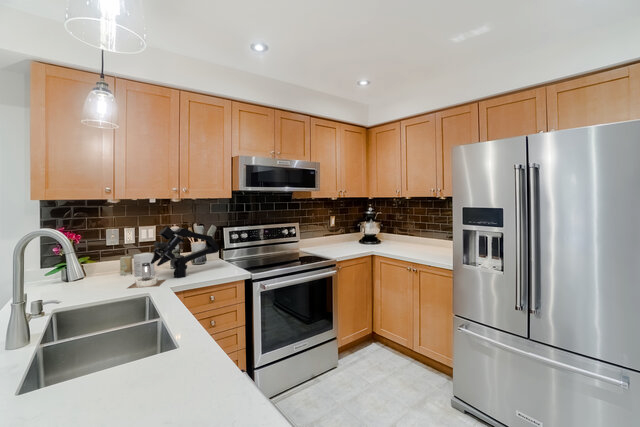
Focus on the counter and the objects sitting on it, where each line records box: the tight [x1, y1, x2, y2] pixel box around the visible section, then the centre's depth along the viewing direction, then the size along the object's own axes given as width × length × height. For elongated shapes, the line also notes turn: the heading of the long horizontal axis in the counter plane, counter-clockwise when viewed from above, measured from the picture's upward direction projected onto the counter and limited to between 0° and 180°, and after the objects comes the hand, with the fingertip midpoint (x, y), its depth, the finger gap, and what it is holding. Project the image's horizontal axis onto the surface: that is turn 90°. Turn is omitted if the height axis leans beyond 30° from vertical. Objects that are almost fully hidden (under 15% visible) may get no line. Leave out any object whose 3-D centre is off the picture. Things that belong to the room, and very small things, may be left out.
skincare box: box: [119, 256, 133, 276], centre depth 202 cm, size 6×4×12 cm
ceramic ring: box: [134, 276, 159, 288], centre depth 174 cm, size 11×11×3 cm
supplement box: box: [132, 252, 155, 278], centre depth 197 cm, size 9×9×15 cm
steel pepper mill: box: [141, 263, 152, 281], centre depth 174 cm, size 5×5×12 cm
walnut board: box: [126, 279, 167, 289], centre depth 174 cm, size 17×15×1 cm
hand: (154, 264), depth 177 cm, fingers open, 9 cm apart
